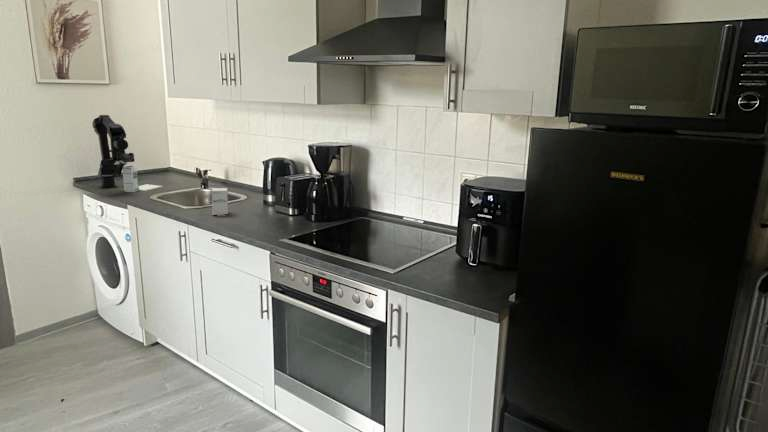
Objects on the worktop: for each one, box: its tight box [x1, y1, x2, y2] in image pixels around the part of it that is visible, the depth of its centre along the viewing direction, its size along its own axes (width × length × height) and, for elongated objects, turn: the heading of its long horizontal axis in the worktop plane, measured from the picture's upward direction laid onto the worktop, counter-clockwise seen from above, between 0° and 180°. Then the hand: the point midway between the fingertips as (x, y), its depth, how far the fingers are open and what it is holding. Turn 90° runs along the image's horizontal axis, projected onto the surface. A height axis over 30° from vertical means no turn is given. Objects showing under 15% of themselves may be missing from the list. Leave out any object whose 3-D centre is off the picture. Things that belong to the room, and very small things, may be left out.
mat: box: [138, 183, 164, 192], centre depth 309 cm, size 12×15×1 cm
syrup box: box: [122, 165, 140, 193], centre depth 297 cm, size 6×6×14 cm
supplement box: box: [211, 187, 229, 216], centre depth 254 cm, size 7×7×13 cm
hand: (119, 176), depth 289 cm, fingers closed
